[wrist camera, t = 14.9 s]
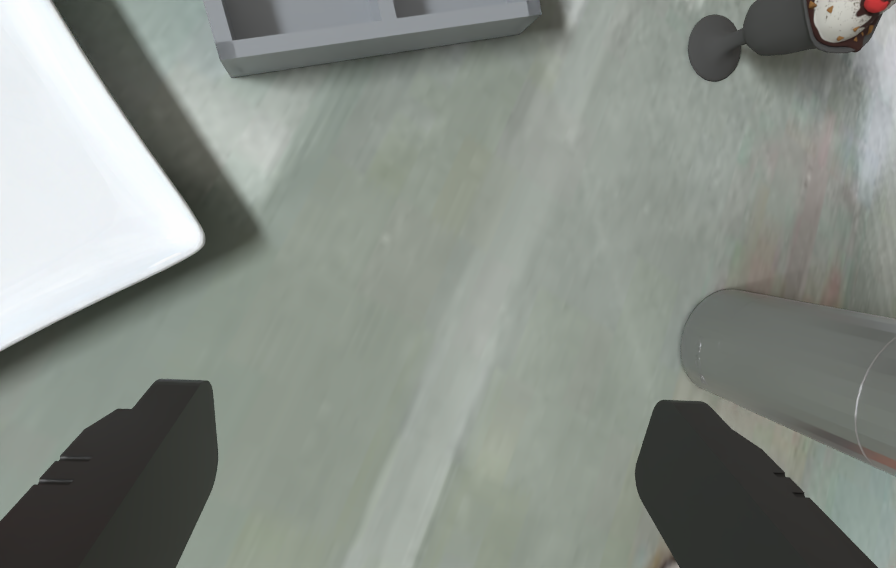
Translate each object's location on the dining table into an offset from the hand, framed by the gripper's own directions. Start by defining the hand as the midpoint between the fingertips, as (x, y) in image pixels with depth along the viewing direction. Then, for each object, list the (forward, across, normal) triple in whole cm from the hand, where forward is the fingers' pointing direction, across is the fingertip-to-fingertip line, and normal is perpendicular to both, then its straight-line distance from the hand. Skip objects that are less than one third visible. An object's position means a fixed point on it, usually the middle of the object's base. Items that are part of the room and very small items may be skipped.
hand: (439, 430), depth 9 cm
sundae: (+34, -23, -11) cm, 42 cm away
